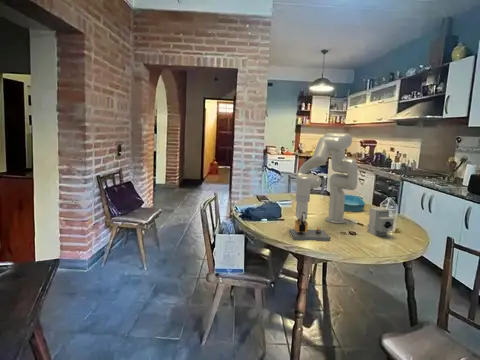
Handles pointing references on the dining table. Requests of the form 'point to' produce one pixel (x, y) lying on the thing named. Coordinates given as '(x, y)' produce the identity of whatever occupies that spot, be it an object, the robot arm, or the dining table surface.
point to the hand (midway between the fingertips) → (300, 229)
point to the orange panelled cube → (298, 225)
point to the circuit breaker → (379, 221)
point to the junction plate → (310, 235)
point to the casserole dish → (353, 203)
